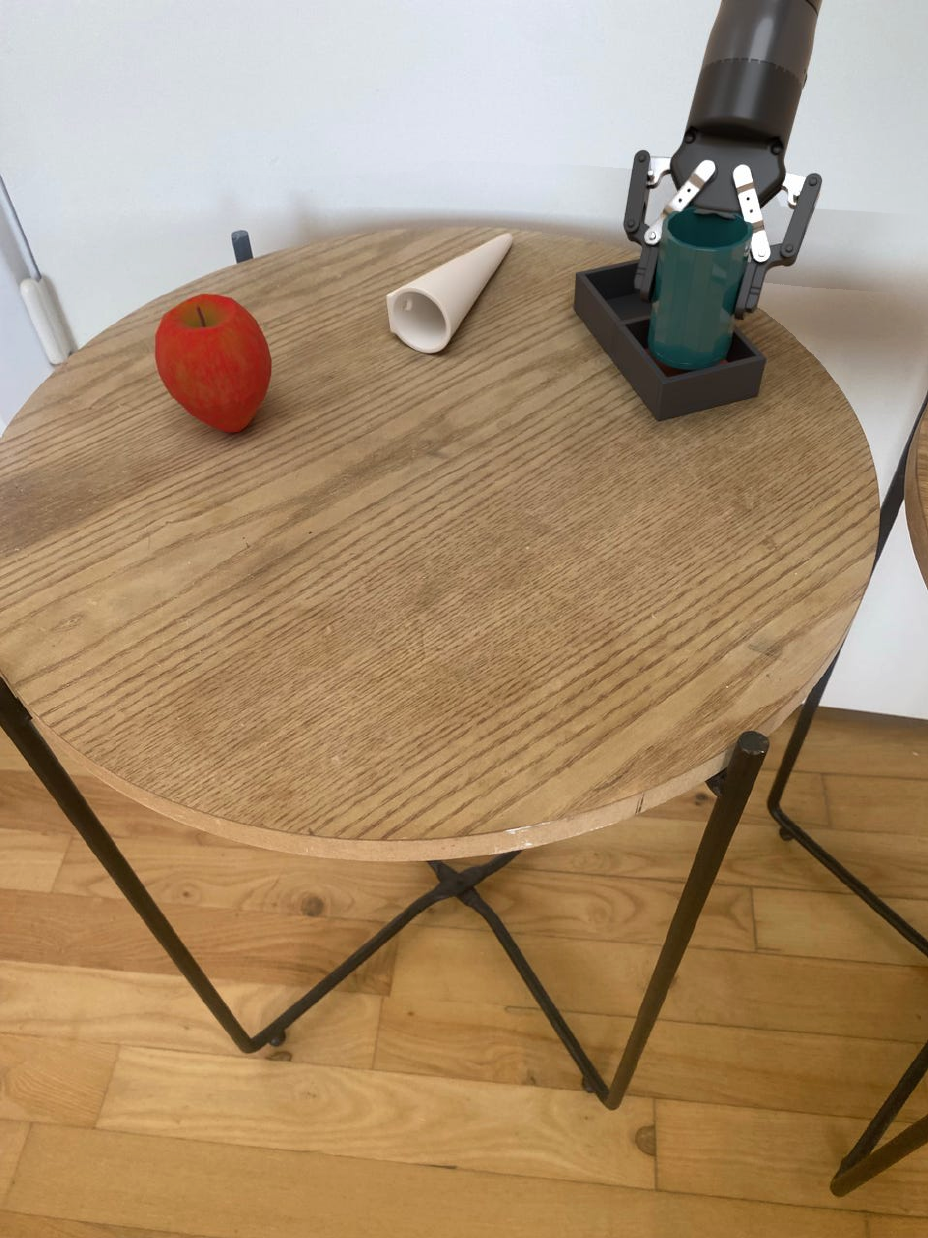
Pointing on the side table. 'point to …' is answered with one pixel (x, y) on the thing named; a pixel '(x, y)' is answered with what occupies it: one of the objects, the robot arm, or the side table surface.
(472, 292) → the long cone
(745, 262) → the cutlery cup
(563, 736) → the side table surface
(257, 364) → the apple
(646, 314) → the divided tray
